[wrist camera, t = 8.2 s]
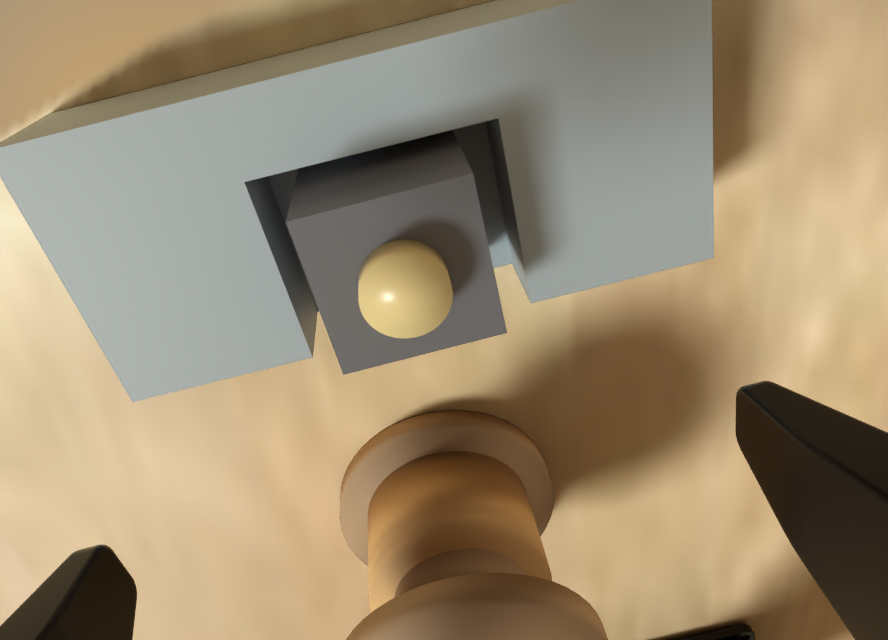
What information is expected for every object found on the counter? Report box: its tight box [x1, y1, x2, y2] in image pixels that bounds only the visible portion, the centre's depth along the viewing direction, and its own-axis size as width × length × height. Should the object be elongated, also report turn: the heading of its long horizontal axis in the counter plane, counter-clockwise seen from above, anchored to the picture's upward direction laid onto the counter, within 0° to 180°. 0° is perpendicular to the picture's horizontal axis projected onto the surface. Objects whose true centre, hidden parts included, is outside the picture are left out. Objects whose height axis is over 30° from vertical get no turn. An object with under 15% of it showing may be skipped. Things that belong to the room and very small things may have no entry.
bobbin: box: [340, 411, 608, 640], centre depth 22 cm, size 8×8×8 cm
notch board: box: [0, 0, 714, 402], centre depth 18 cm, size 16×7×4 cm, turn 102°
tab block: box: [286, 130, 507, 375], centre depth 16 cm, size 4×4×5 cm
